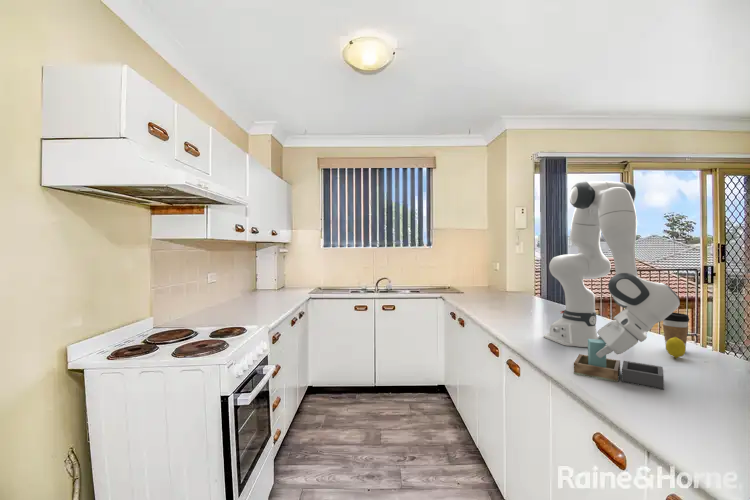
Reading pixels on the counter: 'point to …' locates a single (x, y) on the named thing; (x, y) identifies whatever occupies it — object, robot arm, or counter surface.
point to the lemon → (675, 347)
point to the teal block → (592, 349)
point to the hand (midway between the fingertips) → (594, 351)
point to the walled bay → (597, 369)
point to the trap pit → (643, 374)
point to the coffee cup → (676, 327)
